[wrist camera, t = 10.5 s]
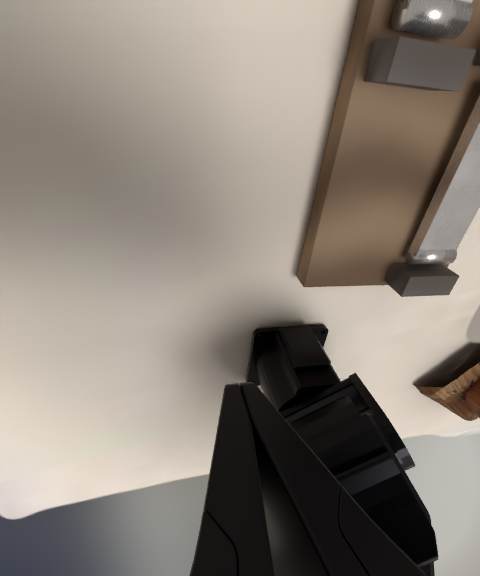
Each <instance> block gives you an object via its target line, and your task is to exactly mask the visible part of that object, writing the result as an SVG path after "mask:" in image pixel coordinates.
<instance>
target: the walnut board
mask: <svg viewBox="0 0 480 576" xmlns="http://www.w3.org/2000/svg"><path fill="white" fill-rule="evenodd" d="M397 1H398V0H359V3H358V8H357V12H356V17H355V21H354V25H353V30H352V34H351V39H350V43H349V47H348V52H347V56H346V61H345V65H344V69H343V74H342V78H341V83H340V87H339V91H338V96H337V100H336V105H335V109H334V113H333V118H332V122H331V127H330V131H329V135H328V140H327V144H326V149H325V153H324V158H323V162H322V166H321V171H320V175H319V180H318V184H317V188H316V193H315V197H314V202H313V206H312V210H311V215H310V219H309V224H308V228H307V232H306V237H305V241H304V246H303V250H302V254H301V259H300V263H299V268H298V272H297V278H298V279H299V281H300V282H301V284H302V285H303V287H326V286H363V285H389V286H390V287H392V288H393V289H394V290H395V291H396V292H397V293H398V294H399V295H400V296H401V297H405V296H432V295H449V294H450V292H451V290H452V289H453V287H454V285H455V283H456V281H457V279H458V278H459V275H457V274H456V273H454V272H453V271H451V270H450V269H448V268H447V267H448V265H449V264H408V263H407V262H406V260H405V257H404V253H405V249H406V248H407V246H408V245H410V244H412V242H413V240H414V237H415V235H416V233H417V231H418V229H419V227H420V224H421V222H422V220H423V218H424V216H425V213H426V211H427V209H428V207H429V205H430V202H431V200H432V198H433V196H434V194H435V191H436V189H437V187H438V185H439V183H440V181H441V178H442V176H443V174H444V172H445V170H446V167H447V165H448V163H449V161H450V159H451V156H452V154H453V152H454V150H455V148H456V146H457V143H458V141H459V139H460V137H461V135H462V132H463V130H464V128H465V126H466V124H467V121H468V119H469V117H470V115H471V113H472V110H473V108H474V106H475V104H476V102H477V100H478V97H479V95H480V0H473V1H472V5H473V11H472V16H471V18H470V21H469V23H468V25H467V26H466V28H465V29H464V31H463V32H462V33H461V34H460V35H459V36H458V37H457V38H455V39H453V40H448V39H442V38H437V37H431V36H426V35H420V34H414V33H409V32H403V31H398V30H394V29H393V28H392V24H391V20H392V14H393V10H394V8H395V5H396V3H397ZM459 244H460V243H459ZM458 246H459V245H458ZM457 248H458V247H457ZM456 250H457V249H456Z"/></svg>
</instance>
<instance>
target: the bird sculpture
mask: <svg viewBox="0 0 480 576" xmlns="http://www.w3.org/2000/svg"><path fill="white" fill-rule="evenodd" d="M479 376H480V362H479V363H477V364H476V365H475V366H474V367H472V368H470V369H469V370H468V371H466V372H465V373H464V374H462V375H461V376H460V378H458V379H457V380H456V379H455V380H454V381H452V382H451V383H449V384H448V385H449V386H448V385H446V386H444V387H420V386H417V385H414V384H413V385H414V386H416V387H417V389H418V390H419V391H420V392H421V393H422V394H423V395H425V396H427V397H429V398H431V399H432V400H434V401H436V402H438V403H439V404H441V405H442V406H444V407H446V408H447V409H449V410H450V411H451V412H453V413H455V414H457V415H458V416H460V417H461V418H463V419H465V420H468V421H472V420H475V419H477V418H478V417H479V418H480V377H479ZM478 377H479V378H478ZM473 380H474V381H473ZM472 381H473V383H470V382H472ZM471 384H473V385H471ZM462 387H463V388H464V389H463V388H462ZM448 388H450V389H448ZM461 388H462V389H461ZM454 390H455V391H454ZM464 391H465V393H463V392H464ZM462 393H463V394H462ZM461 396H464V398H460V397H461ZM463 400H464V401H463ZM463 402H464V403H463Z"/></svg>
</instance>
